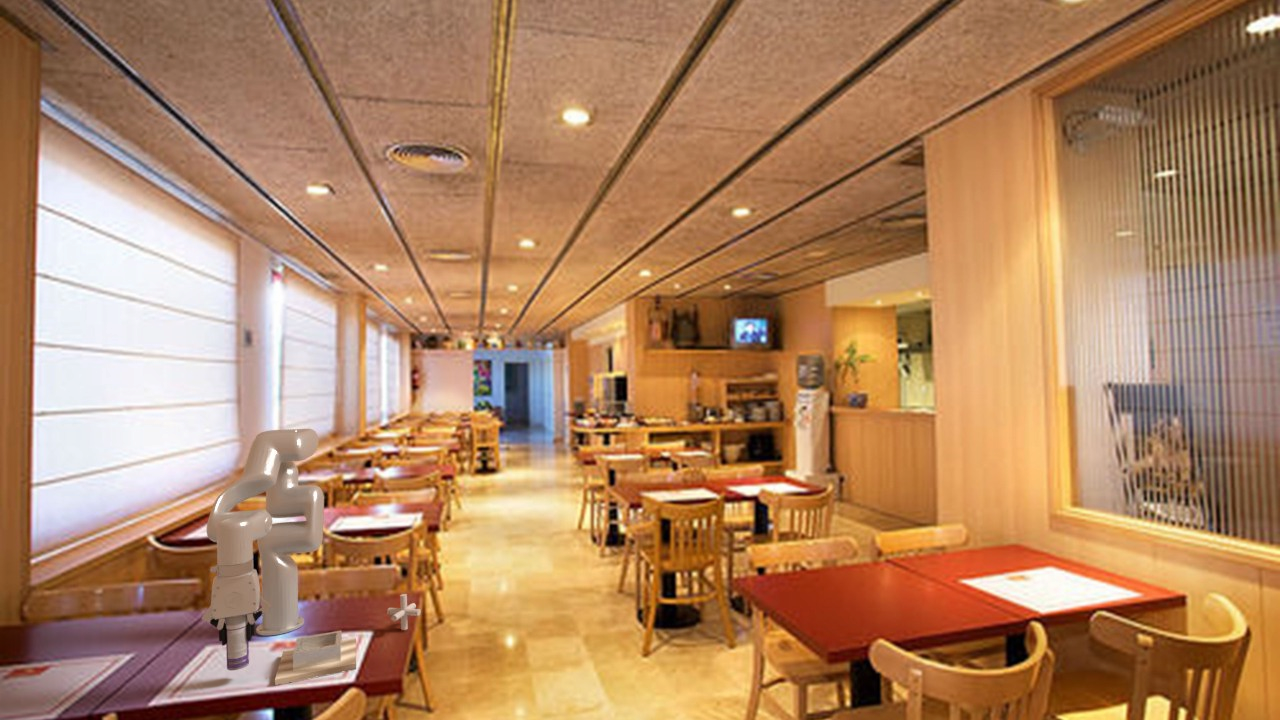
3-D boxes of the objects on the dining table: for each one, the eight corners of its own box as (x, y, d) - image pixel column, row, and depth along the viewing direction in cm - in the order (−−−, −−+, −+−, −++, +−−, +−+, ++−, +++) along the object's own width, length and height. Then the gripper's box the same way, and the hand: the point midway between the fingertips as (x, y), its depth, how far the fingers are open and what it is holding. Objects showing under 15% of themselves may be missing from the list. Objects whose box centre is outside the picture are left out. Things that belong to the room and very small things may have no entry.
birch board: (283, 656, 167) (283, 651, 167) (356, 643, 175) (356, 637, 175) (275, 685, 151) (274, 679, 151) (356, 669, 158) (355, 663, 158)
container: (233, 661, 157) (232, 602, 157) (253, 660, 157) (251, 601, 157) (222, 671, 152) (221, 610, 152) (242, 669, 152) (241, 609, 152)
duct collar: (297, 653, 165) (296, 638, 166) (341, 645, 170) (341, 630, 170) (293, 670, 156) (292, 654, 156) (340, 660, 160) (340, 645, 160)
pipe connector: (409, 636, 178) (409, 601, 178) (378, 635, 180) (378, 600, 180) (428, 623, 188) (427, 589, 188) (398, 621, 190) (398, 588, 190)
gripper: (191, 578, 148) (193, 654, 148) (272, 567, 155) (274, 639, 155) (198, 569, 154) (200, 642, 154) (276, 558, 161) (278, 628, 161)
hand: (237, 640), depth 155 cm, fingers closed on container, 4 cm apart
